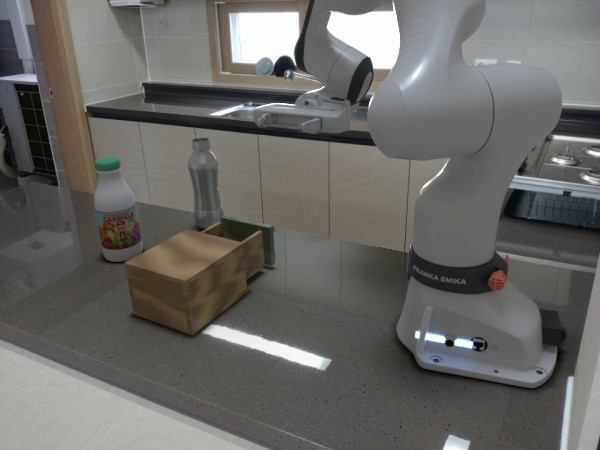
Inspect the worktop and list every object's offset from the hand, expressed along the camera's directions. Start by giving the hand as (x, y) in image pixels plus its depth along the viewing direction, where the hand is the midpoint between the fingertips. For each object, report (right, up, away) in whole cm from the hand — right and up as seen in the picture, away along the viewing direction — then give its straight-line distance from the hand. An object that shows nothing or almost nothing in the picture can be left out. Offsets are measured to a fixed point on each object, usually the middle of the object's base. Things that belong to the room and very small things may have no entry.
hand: (280, 125), depth 105 cm
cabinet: (-14, -33, -14) cm, 38 cm away
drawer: (-8, -27, -4) cm, 29 cm away
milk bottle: (-32, -26, +4) cm, 41 cm away
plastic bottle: (-16, -20, +16) cm, 30 cm away
